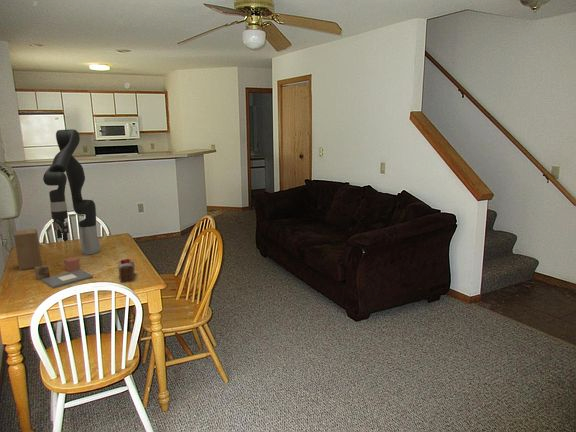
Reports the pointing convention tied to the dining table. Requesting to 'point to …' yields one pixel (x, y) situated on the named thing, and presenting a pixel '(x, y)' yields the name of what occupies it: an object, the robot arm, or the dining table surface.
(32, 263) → the wooden block
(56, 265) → the dining table surface
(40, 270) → the walnut block
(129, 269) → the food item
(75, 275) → the grey flat rectangular panel
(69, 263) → the red block
